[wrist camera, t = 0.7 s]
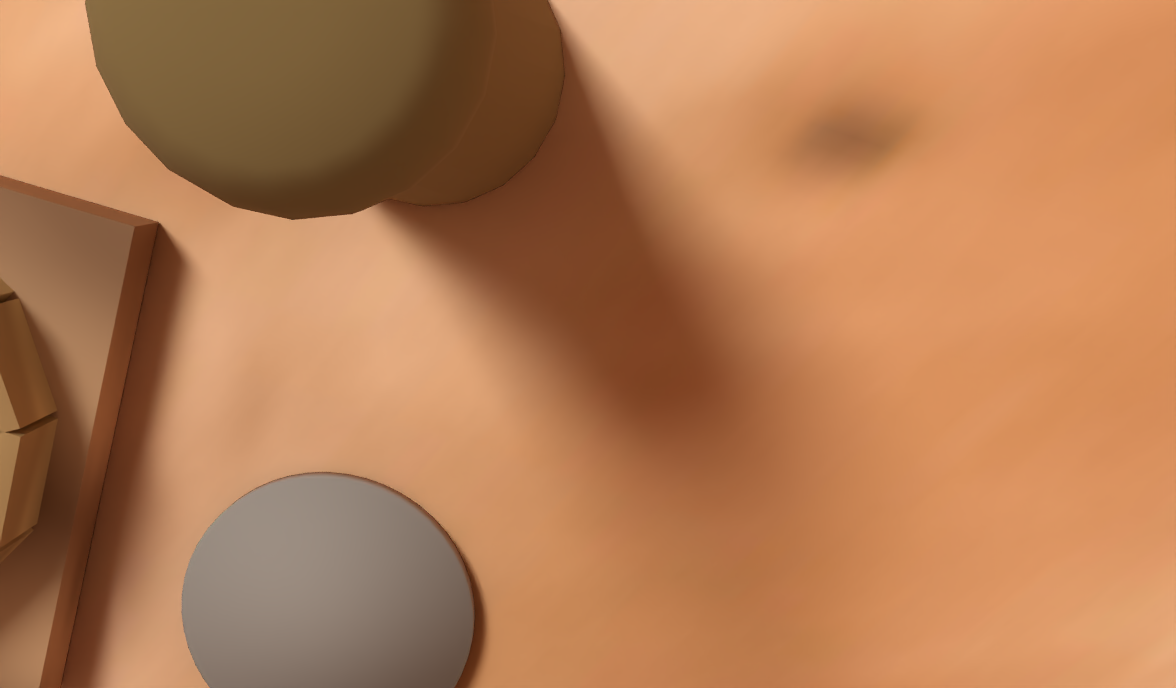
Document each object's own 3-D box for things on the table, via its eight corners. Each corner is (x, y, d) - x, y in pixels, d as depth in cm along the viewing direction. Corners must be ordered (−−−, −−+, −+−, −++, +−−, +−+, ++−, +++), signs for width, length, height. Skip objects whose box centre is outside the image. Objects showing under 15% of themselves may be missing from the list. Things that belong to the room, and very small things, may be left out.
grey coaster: (433, 774, 26) (430, 784, 26) (161, 697, 26) (154, 705, 26) (508, 519, 25) (506, 525, 25) (222, 436, 25) (216, 441, 24)
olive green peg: (606, -16, 23) (590, -156, 12) (507, 246, 24) (411, 336, 13) (341, -124, 22) (78, -367, 12) (254, 147, 24) (-59, 154, 13)
